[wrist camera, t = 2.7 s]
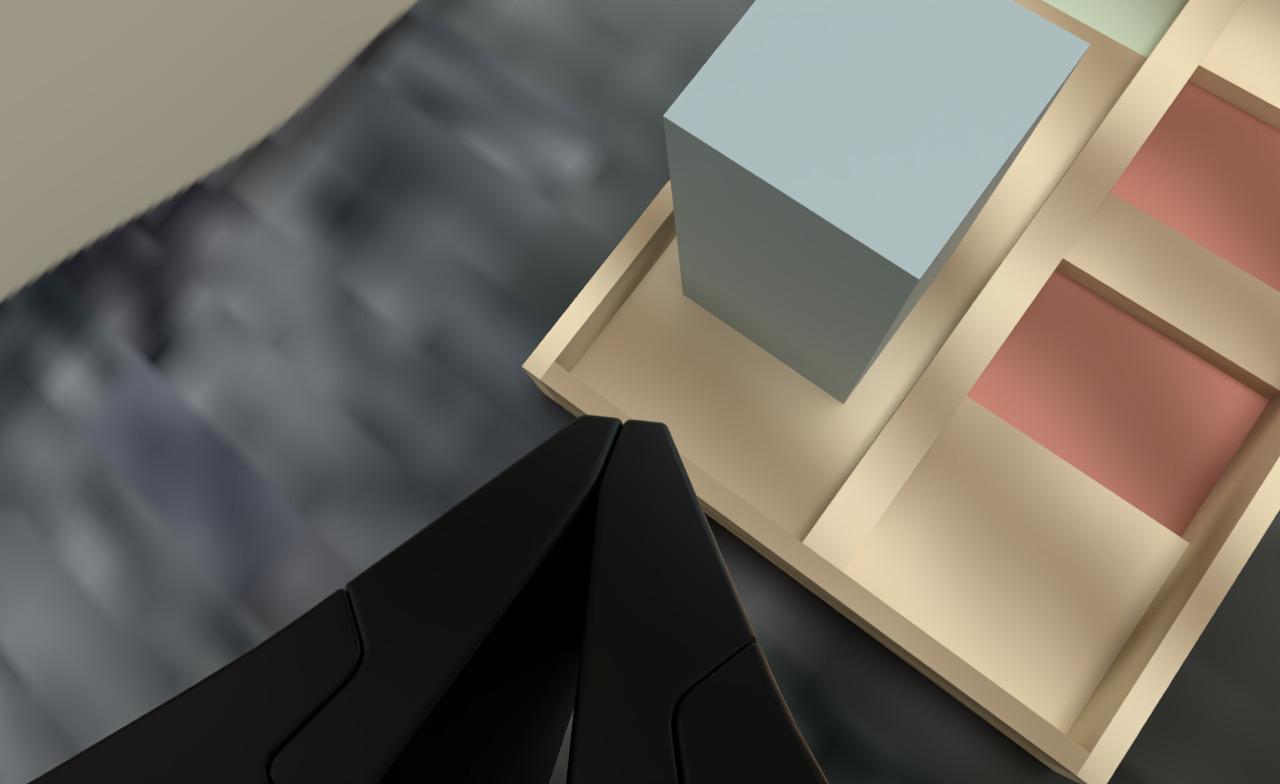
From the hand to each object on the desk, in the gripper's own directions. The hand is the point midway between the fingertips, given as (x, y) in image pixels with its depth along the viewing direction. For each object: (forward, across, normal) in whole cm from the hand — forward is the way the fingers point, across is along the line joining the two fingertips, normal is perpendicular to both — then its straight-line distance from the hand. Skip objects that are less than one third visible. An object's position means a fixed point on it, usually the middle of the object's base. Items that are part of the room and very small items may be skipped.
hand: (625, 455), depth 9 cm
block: (+13, -2, +4) cm, 14 cm away
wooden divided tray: (+15, -8, +3) cm, 17 cm away
